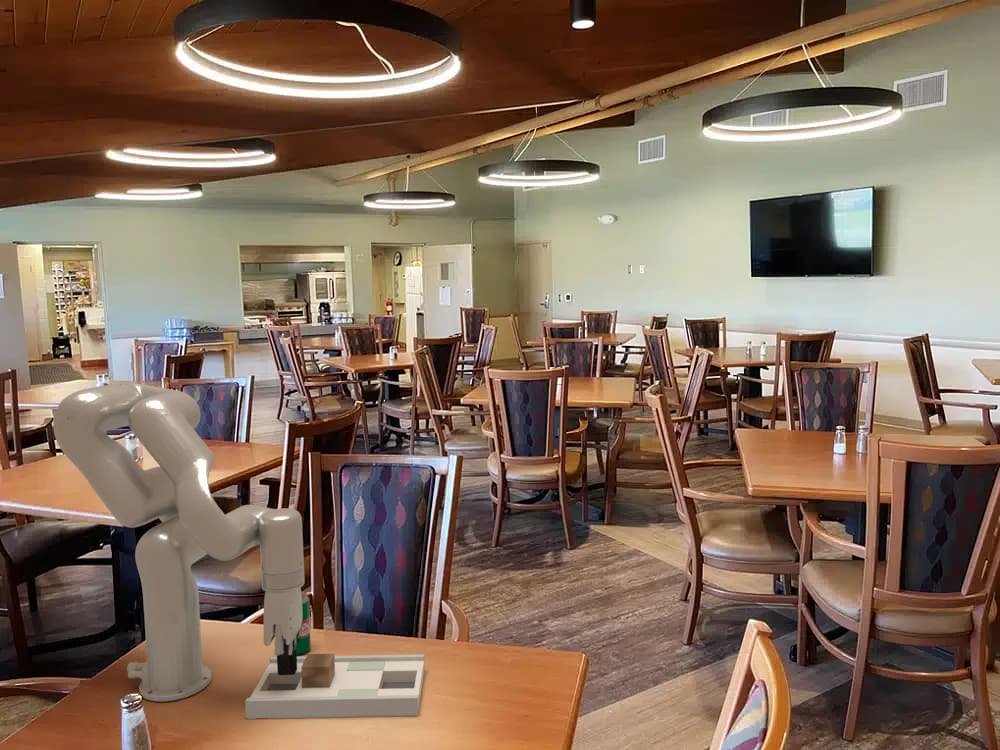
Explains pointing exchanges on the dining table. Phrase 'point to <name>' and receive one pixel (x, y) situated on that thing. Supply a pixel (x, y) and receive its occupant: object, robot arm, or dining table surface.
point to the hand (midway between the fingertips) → (287, 672)
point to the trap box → (343, 689)
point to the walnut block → (318, 671)
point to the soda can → (304, 628)
